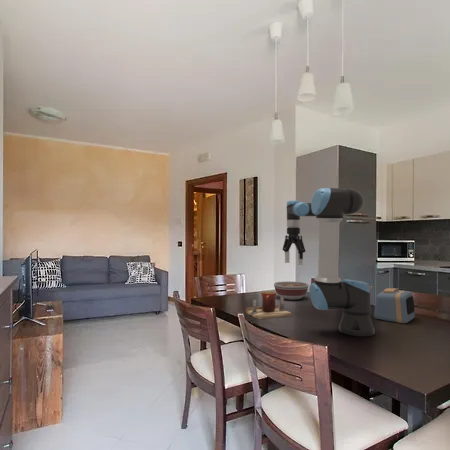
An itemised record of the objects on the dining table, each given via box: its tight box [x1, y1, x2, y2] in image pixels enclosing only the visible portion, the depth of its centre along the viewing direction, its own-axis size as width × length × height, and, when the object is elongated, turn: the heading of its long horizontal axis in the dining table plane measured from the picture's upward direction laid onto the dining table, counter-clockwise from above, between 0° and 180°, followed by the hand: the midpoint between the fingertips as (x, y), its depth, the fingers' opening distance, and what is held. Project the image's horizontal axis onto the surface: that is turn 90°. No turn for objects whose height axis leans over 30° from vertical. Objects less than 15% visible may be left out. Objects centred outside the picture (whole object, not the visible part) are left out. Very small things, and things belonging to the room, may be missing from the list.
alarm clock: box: [373, 287, 416, 324], centre depth 180 cm, size 16×16×16 cm
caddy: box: [245, 296, 293, 320], centre depth 190 cm, size 16×20×8 cm
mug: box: [260, 290, 277, 312], centre depth 190 cm, size 12×9×10 cm
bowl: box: [273, 280, 309, 301], centre depth 235 cm, size 23×23×10 cm
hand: (293, 263), depth 201 cm, fingers open, 13 cm apart
